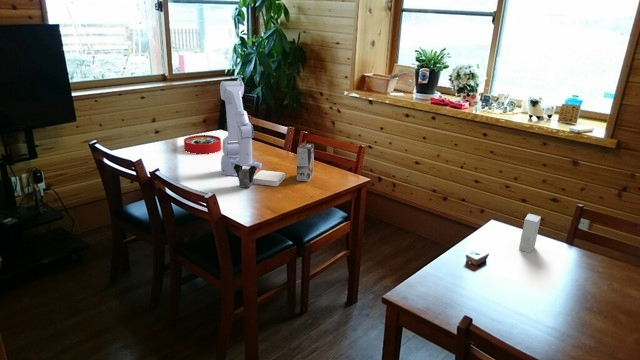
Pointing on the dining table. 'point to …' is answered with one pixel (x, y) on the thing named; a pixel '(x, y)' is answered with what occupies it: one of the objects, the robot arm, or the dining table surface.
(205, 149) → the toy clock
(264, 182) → the plinth
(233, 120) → the robot arm
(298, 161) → the coffee box
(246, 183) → the block
